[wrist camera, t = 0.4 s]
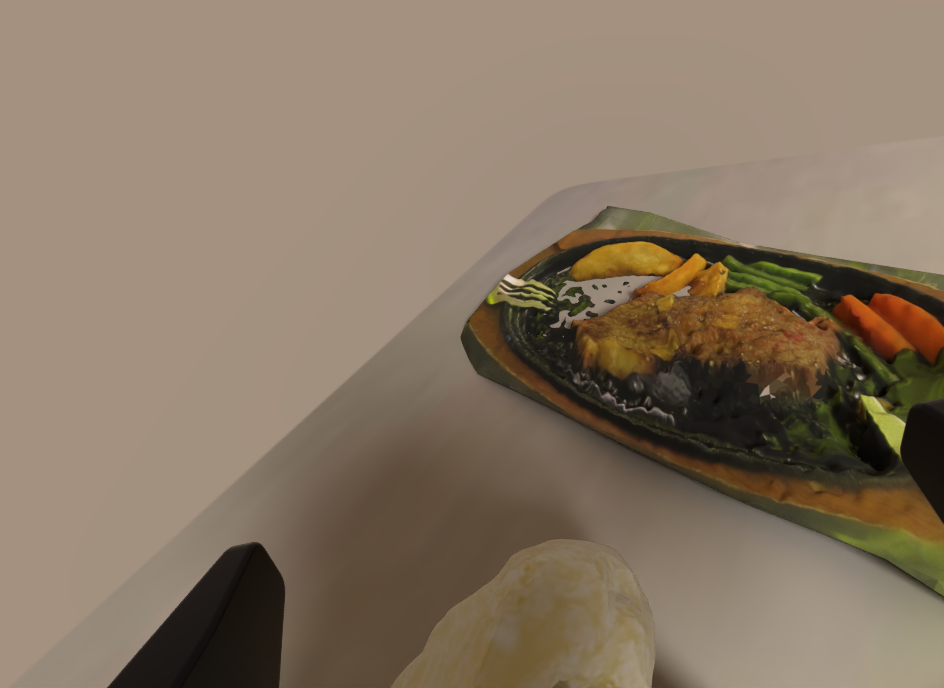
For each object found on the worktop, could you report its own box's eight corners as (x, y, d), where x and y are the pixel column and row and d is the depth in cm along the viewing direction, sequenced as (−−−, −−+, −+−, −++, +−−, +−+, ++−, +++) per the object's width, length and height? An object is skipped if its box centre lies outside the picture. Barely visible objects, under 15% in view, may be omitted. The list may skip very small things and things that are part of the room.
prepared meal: (423, 317, 34) (599, 171, 41) (437, 358, 36) (601, 213, 44) (1046, 644, 17) (1144, 300, 25) (994, 679, 20) (1099, 356, 27)
